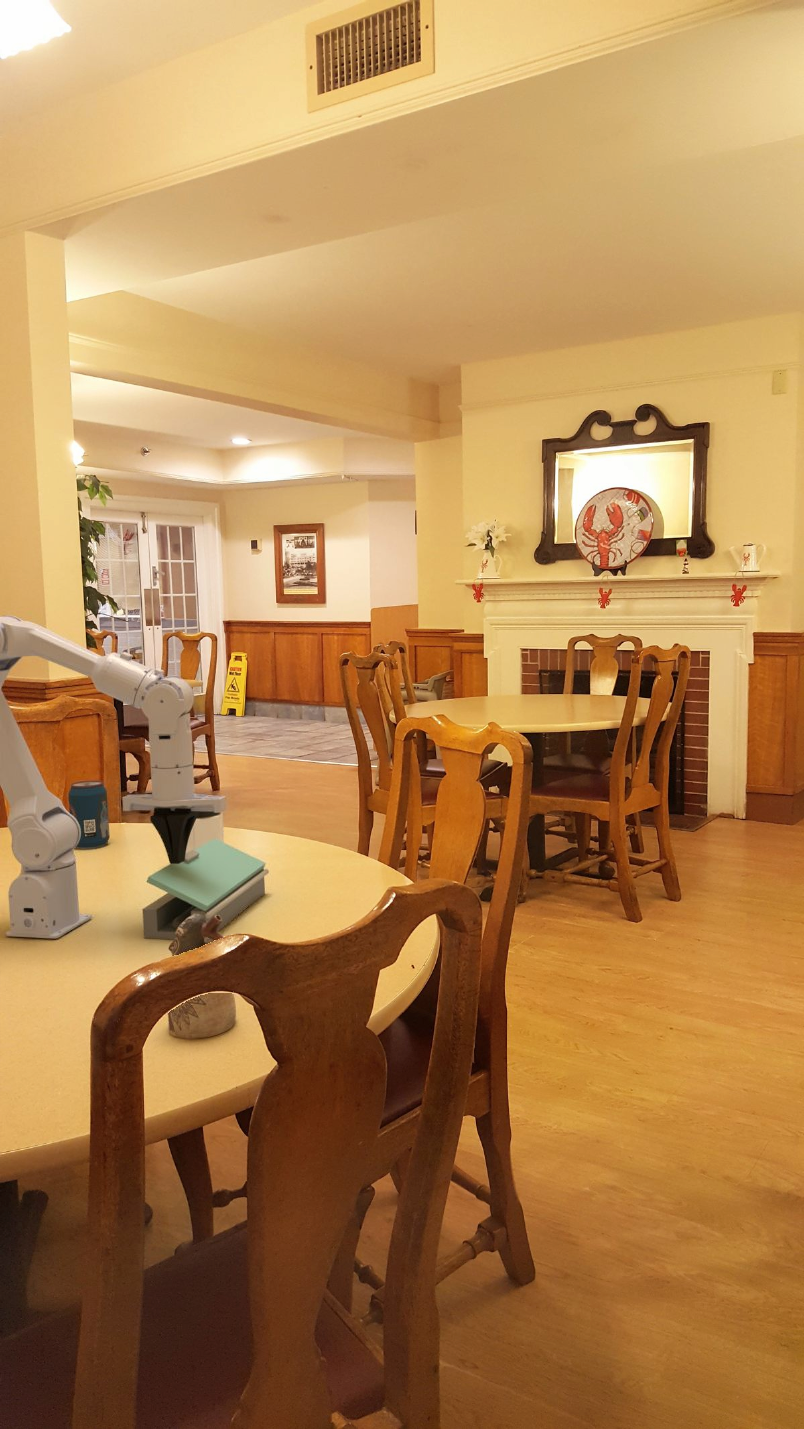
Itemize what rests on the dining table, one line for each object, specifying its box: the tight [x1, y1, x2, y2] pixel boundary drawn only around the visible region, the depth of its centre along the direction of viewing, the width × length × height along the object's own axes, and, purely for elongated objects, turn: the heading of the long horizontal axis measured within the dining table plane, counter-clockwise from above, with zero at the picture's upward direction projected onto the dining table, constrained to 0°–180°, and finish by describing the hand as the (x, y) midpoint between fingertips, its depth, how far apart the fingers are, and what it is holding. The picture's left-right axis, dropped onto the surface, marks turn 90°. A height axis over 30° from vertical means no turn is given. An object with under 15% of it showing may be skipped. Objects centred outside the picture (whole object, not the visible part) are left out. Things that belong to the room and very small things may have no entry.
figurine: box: [167, 914, 237, 1040], centre depth 105 cm, size 7×7×12 cm
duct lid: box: [146, 838, 267, 911], centre depth 143 cm, size 22×9×1 cm, turn 167°
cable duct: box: [142, 867, 270, 941], centre depth 143 cm, size 22×10×4 cm, turn 167°
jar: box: [186, 794, 225, 853], centre depth 169 cm, size 9×8×12 cm
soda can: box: [67, 780, 111, 850], centre depth 187 cm, size 7×7×12 cm
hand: (177, 862), depth 138 cm, fingers closed
